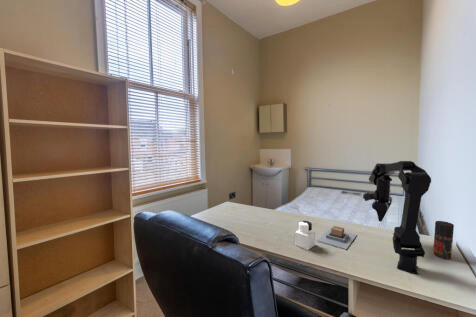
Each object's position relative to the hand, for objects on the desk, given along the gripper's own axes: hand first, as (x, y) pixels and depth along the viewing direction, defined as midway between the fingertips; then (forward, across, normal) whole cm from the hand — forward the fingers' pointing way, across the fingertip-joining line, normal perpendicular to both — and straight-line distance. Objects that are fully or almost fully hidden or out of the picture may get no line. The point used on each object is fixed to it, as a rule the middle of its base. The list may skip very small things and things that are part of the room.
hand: (381, 218), depth 111 cm
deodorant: (+12, -1, +23) cm, 26 cm away
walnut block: (+12, +10, -18) cm, 24 cm away
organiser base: (+12, +10, -18) cm, 24 cm away
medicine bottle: (+12, +28, -28) cm, 42 cm away
